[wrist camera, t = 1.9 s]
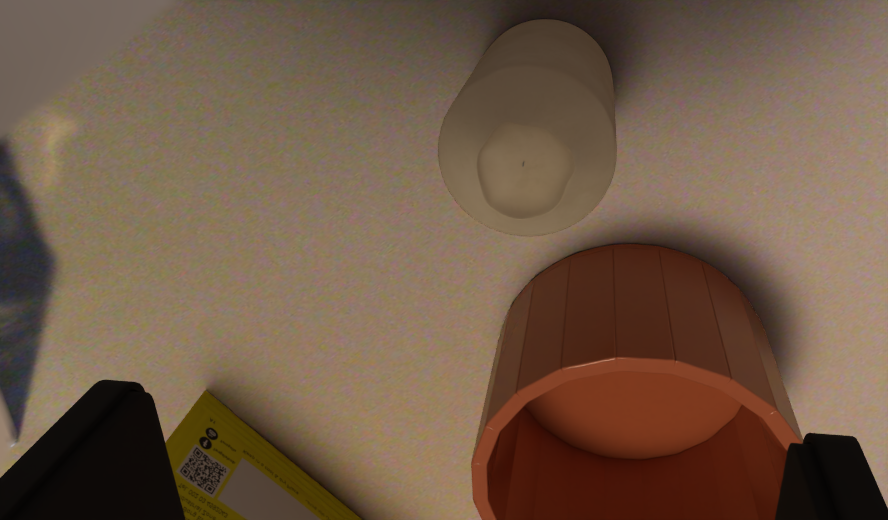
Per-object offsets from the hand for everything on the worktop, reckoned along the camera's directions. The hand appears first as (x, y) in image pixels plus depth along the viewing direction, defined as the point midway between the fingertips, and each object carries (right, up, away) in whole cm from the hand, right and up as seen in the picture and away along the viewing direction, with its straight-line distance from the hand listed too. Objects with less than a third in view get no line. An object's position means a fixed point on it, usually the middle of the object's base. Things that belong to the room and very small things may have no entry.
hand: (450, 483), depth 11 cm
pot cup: (+9, -1, +25) cm, 26 cm away
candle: (+4, +10, +20) cm, 23 cm away
